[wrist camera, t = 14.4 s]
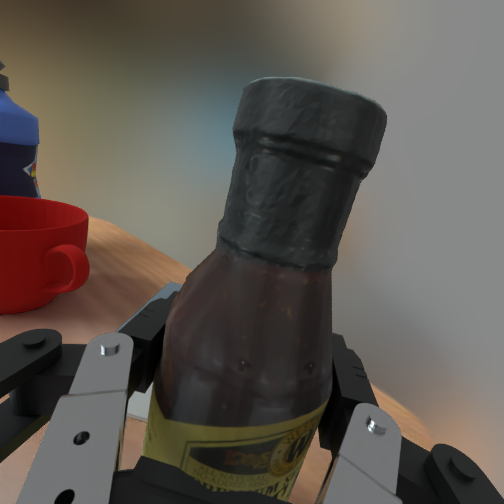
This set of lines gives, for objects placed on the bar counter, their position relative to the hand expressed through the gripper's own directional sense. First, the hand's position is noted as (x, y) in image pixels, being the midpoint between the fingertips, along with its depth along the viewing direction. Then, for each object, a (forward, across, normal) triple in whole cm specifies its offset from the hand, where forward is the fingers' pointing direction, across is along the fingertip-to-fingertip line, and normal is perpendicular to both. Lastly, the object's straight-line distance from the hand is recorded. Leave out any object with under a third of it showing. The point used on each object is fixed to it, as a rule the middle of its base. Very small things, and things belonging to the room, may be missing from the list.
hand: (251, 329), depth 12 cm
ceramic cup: (+12, +24, +12) cm, 29 cm away
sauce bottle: (-2, 0, +11) cm, 11 cm away
